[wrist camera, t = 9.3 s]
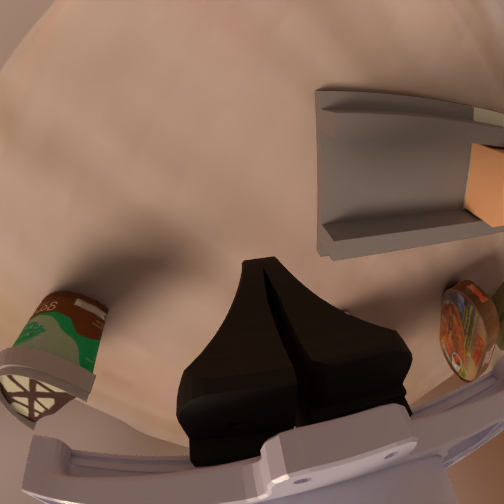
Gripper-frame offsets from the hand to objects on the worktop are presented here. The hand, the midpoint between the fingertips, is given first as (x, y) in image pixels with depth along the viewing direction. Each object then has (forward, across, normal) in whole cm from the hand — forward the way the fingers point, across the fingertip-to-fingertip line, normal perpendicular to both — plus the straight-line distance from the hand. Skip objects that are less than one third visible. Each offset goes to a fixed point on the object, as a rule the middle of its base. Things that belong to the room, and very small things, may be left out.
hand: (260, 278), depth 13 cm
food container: (+10, +18, +8) cm, 22 cm away
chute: (+9, -16, -1) cm, 19 cm away
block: (+8, -22, -1) cm, 24 cm away
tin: (+10, -24, +17) cm, 31 cm away
